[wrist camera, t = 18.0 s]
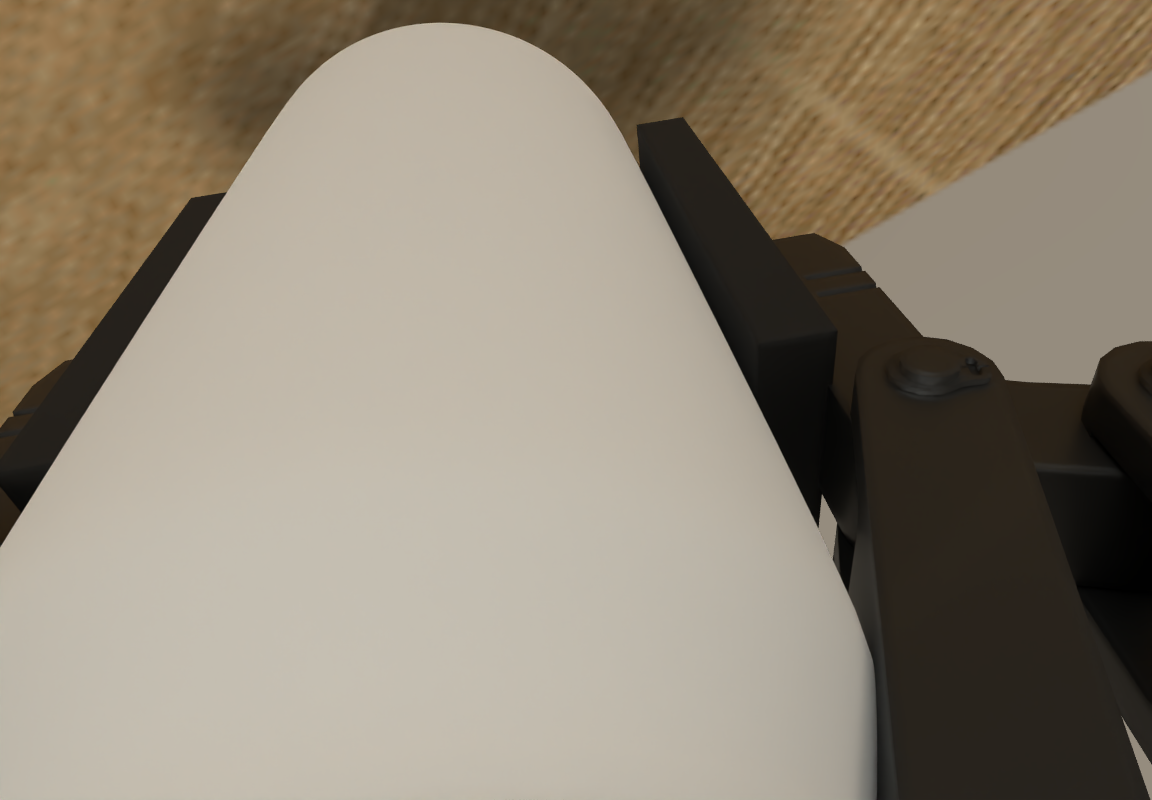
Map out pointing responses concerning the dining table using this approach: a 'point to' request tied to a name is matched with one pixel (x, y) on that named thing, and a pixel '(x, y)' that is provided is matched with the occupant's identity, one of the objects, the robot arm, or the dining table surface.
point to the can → (430, 488)
